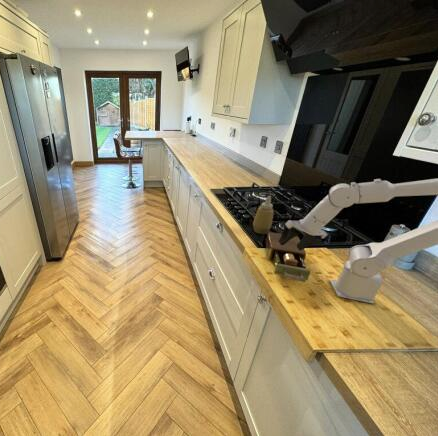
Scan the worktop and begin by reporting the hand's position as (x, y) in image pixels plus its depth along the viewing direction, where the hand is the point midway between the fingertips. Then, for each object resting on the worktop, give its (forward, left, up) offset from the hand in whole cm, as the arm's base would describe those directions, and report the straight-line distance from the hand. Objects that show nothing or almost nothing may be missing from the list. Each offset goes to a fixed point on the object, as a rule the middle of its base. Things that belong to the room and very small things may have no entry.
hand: (289, 245), depth 83 cm
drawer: (-2, +1, -10) cm, 10 cm away
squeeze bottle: (+5, -29, -11) cm, 31 cm away
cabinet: (-2, -12, -11) cm, 16 cm away
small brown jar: (-2, -1, -9) cm, 9 cm away
